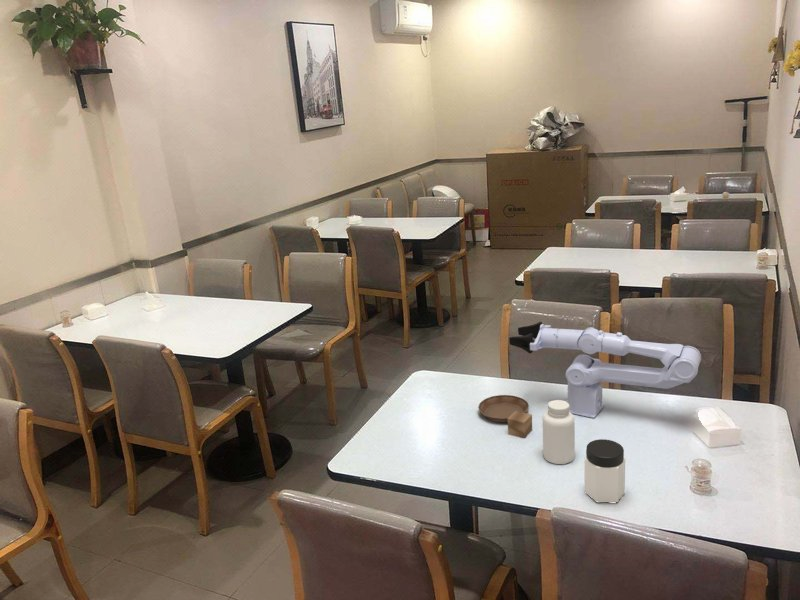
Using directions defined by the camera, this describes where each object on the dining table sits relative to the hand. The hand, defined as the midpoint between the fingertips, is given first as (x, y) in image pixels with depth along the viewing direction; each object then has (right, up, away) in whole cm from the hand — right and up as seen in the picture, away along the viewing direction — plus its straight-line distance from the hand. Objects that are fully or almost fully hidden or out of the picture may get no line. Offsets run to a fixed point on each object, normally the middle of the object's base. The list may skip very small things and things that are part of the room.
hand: (514, 335), depth 190 cm
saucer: (-3, -23, -2) cm, 24 cm away
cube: (-1, -26, -13) cm, 29 cm away
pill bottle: (+7, -30, -26) cm, 40 cm away
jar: (+13, -34, -43) cm, 56 cm away
